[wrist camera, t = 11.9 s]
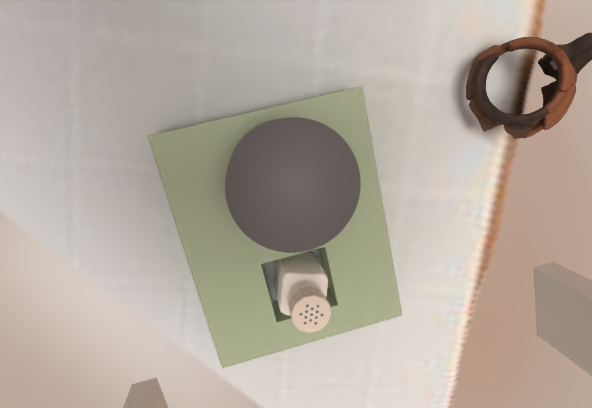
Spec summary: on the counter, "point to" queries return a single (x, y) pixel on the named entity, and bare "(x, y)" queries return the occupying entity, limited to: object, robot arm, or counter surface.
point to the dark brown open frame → (556, 95)
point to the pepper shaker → (302, 291)
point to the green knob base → (280, 217)
